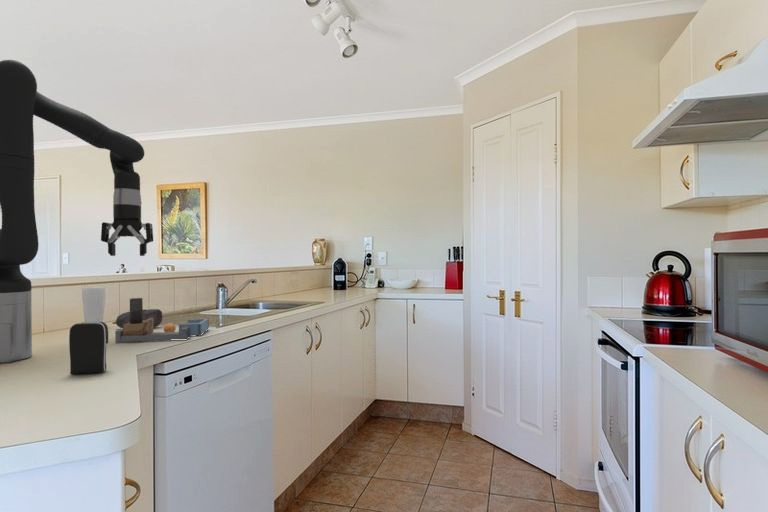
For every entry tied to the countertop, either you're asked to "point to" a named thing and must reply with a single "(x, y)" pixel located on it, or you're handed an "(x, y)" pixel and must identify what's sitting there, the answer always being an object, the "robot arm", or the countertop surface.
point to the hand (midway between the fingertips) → (127, 255)
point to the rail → (152, 336)
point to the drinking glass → (93, 303)
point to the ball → (169, 327)
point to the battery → (88, 347)
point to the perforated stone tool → (147, 314)
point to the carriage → (137, 320)
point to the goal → (196, 326)
